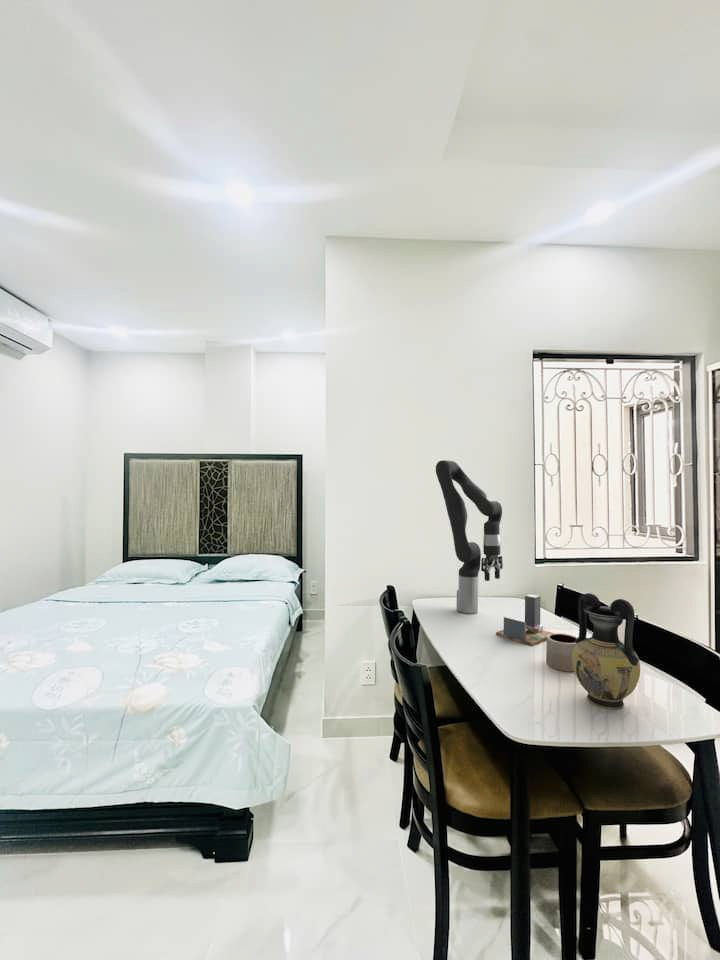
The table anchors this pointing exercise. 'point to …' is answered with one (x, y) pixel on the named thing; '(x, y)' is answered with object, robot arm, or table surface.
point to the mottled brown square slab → (528, 637)
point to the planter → (560, 651)
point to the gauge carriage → (532, 613)
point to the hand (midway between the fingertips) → (492, 579)
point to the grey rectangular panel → (515, 628)
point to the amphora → (606, 652)
